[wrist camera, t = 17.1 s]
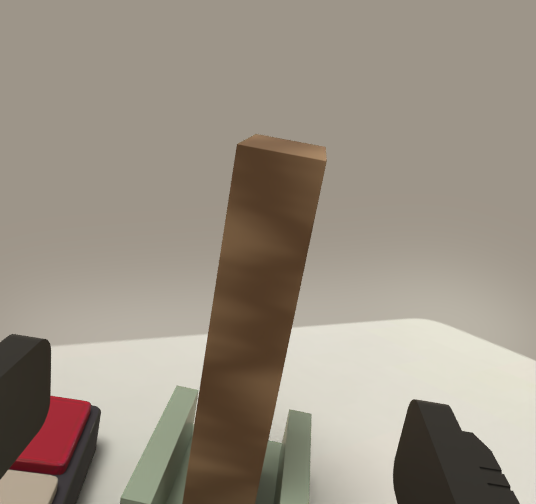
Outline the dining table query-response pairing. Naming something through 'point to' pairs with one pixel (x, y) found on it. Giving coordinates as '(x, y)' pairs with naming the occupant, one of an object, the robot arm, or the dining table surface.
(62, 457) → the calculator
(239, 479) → the tall board
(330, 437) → the dining table surface
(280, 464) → the board holder
